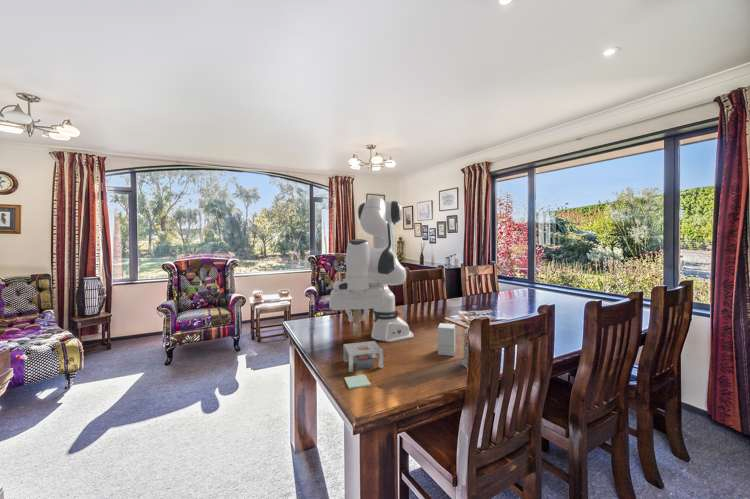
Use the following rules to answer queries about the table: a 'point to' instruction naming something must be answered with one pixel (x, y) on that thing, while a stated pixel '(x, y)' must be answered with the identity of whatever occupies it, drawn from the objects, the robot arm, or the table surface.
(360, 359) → the button
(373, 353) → the box
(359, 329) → the dowel
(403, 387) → the table surface
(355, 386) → the coaster
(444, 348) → the supplement box
